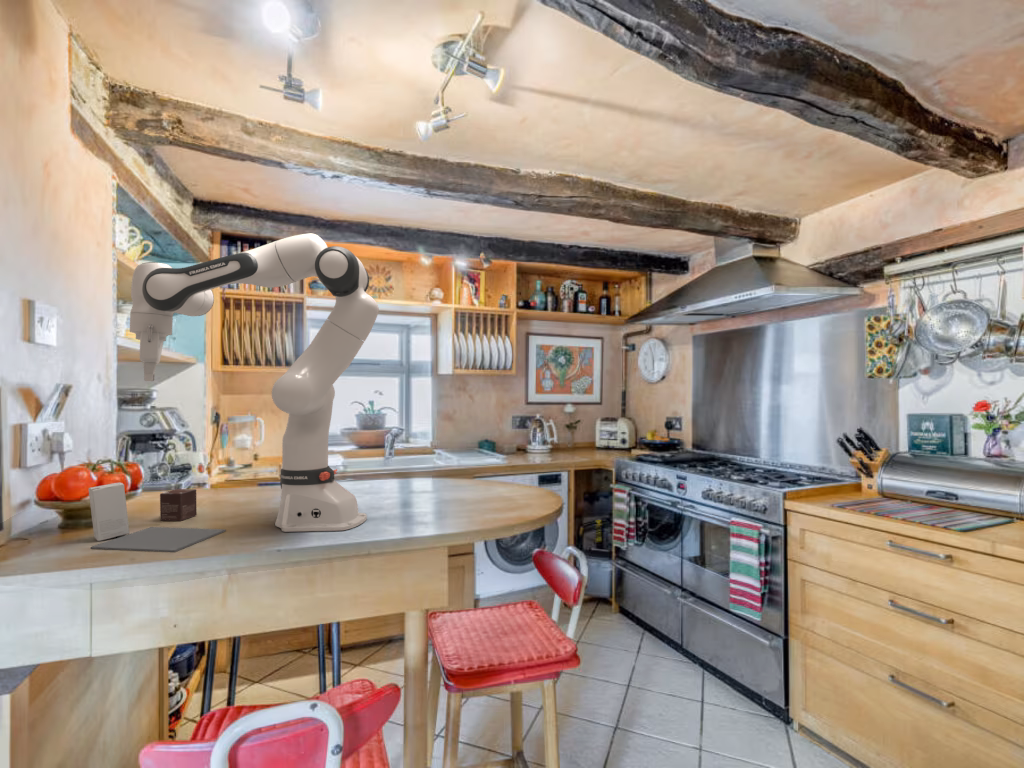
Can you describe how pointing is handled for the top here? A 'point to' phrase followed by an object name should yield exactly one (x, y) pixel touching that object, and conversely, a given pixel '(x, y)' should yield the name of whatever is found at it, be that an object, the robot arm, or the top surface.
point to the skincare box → (109, 511)
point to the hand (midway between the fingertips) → (149, 381)
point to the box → (178, 505)
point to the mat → (159, 539)
